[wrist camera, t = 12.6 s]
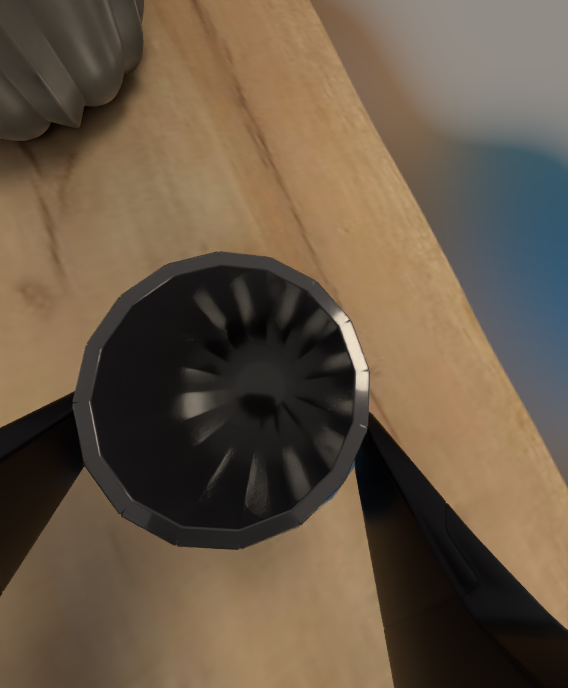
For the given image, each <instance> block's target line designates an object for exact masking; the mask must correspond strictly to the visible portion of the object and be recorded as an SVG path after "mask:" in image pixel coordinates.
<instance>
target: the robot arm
mask: <svg viewBox="0 0 568 688" xmlns="http://www.w3.org/2000/svg"><path fill="white" fill-rule="evenodd" d="M74 394H75V391H74V392H72V393H70V394H68V395H66V396H64V397H62V398H60V399H58V400H56V401H54V402H52V403H50V404H48V405H46V406H44V407H42V408H40V409H38V410H36V411H34V412H32V413H29V414H27V415H25V416H23V417H21V418H19V419H17V420H15V421H13V422H11V423H9V424H7V425H5V426H3V427H1V428H0V596H1V595H2V591H4V590H5V588H6V587H7V585H8V584H9V582H10V580H11V579H12V577H13V576H14V574H15V573H16V571H17V570H18V568H19V566H20V565H21V563H22V562H23V560H24V559H25V557H26V556H27V554H28V553H29V551H30V549H31V548H32V546H33V545H34V543H35V542H36V540H37V539H38V537H39V536H40V534H41V532H42V531H43V529H44V528H45V526H46V525H47V523H48V522H49V520H50V518H51V517H52V515H53V514H54V512H55V511H56V509H57V508H58V506H59V505H60V503H61V501H62V500H63V498H64V497H65V495H66V494H67V492H68V491H69V489H70V488H71V486H72V484H73V483H74V481H75V480H76V478H77V477H78V475H79V474H80V472H81V470H82V469H83V467H84V466H85V463H83V459H82V454H81V448H80V443H79V437H78V432H77V426H76V421H75V415H74V410H73V404H74V403H73V398H74ZM367 427H368V429H367V431H366V434H365V436H364V438H363V441H362V443H361V445H360V448H359V450H358V452H357V455H356V457H355V459H354V462H355V472H356V478H357V484H358V489H359V495H360V500H361V506H362V511H363V517H364V522H365V528H366V533H367V539H368V544H369V550H370V555H371V561H372V566H373V572H374V577H375V583H376V588H377V594H378V599H379V605H380V611H381V616H382V622H383V627H384V628H385V629H384V633H385V639H386V645H387V650H388V656H389V661H390V667H391V672H392V678H393V683H394V688H568V630H567V629H566V628H565V627H564V626H563V625H561V624H560V623H559V622H558V621H557V620H556V619H555V618H554V617H552V616H551V615H550V614H549V613H548V612H547V611H546V610H545V609H544V608H543V607H542V606H541V605H540V604H539V603H538V602H537V600H536V599H535V598H534V597H533V596H532V595H531V594H530V593H529V592H528V591H527V590H526V589H525V588H524V587H523V586H522V585H521V584H520V583H519V582H518V580H517V579H516V578H515V577H514V576H513V575H512V574H511V573H510V572H509V571H508V570H507V569H506V568H505V567H504V566H503V565H502V564H501V563H500V562H499V560H498V559H497V558H496V557H495V556H494V555H493V554H492V553H491V552H490V551H489V550H488V549H487V548H486V547H485V545H484V544H483V543H482V542H481V541H480V540H479V539H478V538H477V537H476V536H475V535H474V534H473V532H472V531H471V530H470V529H469V528H468V527H467V525H466V524H465V523H464V522H463V521H462V520H461V519H460V517H459V516H458V515H457V514H456V513H455V512H454V510H453V509H452V508H451V507H450V506H449V504H447V503H446V501H445V500H444V499H443V497H442V496H441V495H440V494H439V493H438V491H437V490H436V489H435V488H434V487H433V486H432V484H431V483H430V482H429V481H428V480H427V478H426V477H425V476H424V475H423V474H422V472H421V471H420V470H419V469H418V468H417V467H416V465H415V464H414V463H413V462H412V461H411V459H410V458H409V457H408V456H407V455H406V453H405V452H404V451H403V450H402V449H401V447H400V446H399V445H398V444H397V443H396V442H395V440H394V439H393V438H392V437H391V436H390V434H389V433H388V432H387V431H386V430H385V428H384V427H383V426H382V425H381V424H380V423H379V421H378V420H377V419H376V418H375V417H374V415H373V414H372V413H370V412H369V416H368V426H367Z"/></svg>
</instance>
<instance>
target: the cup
mask: <svg viewBox="0 0 568 688" xmlns="http://www.w3.org/2000/svg"><path fill="white" fill-rule="evenodd" d="M87 344H88V345H86V347H85V351H84V355H83V360H82V364H81V368H80V372H79V377H78V381H77V385H76V390H75V394H74V398H73V403H74V404H73V410H74V415H75V421H76V426H77V432H78V437H79V443H80V448H81V454H82V459H83V463H85V467H86V469H87V470H88V471H89V473H90V474H91V476H92V477H93V479H94V480H95V481H96V483H97V484H98V486H99V487H100V488H101V490H102V491H103V493H104V494H105V496H106V497H107V498H108V500H109V501H110V503H111V504H112V505H113V507H114V508H115V510H116V511H117V513H118V514H121V517H123V518H125V519H127V520H128V521H130V522H132V523H134V524H136V525H138V526H139V527H141V528H143V529H145V530H147V531H148V532H150V533H152V534H154V535H156V536H158V537H159V538H161V539H163V540H165V541H167V542H168V543H170V544H172V545H174V546H175V545H177V546H178V547H195V548H213V549H232V550H239V549H240V548H241V549H244V548H246V547H249V546H252V545H254V544H257V543H259V542H262V541H264V540H267V539H269V538H272V537H274V536H277V535H280V534H282V533H285V532H287V531H290V530H292V529H295V528H297V527H299V525H302V524H303V523H304V522H305V521H306V520H307V519H308V518H309V517H310V516H311V515H312V514H313V513H314V512H315V511H316V510H317V509H318V508H319V507H320V506H321V505H322V504H323V503H324V502H325V501H326V500H327V499H328V498H329V497H330V496H331V495H332V494H333V493H334V492H335V491H336V490H337V489H338V488H339V487H340V486H341V485H342V484H343V483H344V481H345V480H346V478H347V476H348V473H349V471H350V469H351V466H352V464H353V462H354V459H355V457H356V455H357V452H358V450H359V448H360V445H361V443H362V441H363V438H364V436H365V434H366V431H367V429H368V427H367V426H368V416H369V374H370V372H369V371H368V370H369V367H368V365H367V362H366V359H365V356H364V354H363V351H362V348H361V346H360V343H359V340H358V337H357V335H356V332H355V329H354V326H353V324H352V321H350V318H349V317H348V316H347V315H346V314H345V312H344V311H343V310H342V309H341V308H340V307H339V306H338V305H337V303H336V302H335V301H334V300H333V299H332V298H331V297H330V295H329V294H328V293H327V292H326V291H325V290H324V289H323V288H322V286H321V285H320V284H319V283H318V282H316V281H315V280H314V279H312V278H310V277H308V276H306V275H304V274H302V273H300V272H299V271H297V270H295V269H293V268H291V267H289V266H287V265H285V264H283V263H281V262H279V261H277V260H275V259H273V258H270V257H265V256H256V255H247V254H239V253H230V252H221V251H220V252H214V253H209V254H205V255H201V256H197V257H193V258H189V259H185V260H181V261H177V262H173V263H169V264H167V265H164V266H163V267H161V268H160V269H159V270H157V271H156V272H154V273H153V274H151V275H150V276H148V277H147V278H145V279H144V280H142V281H141V282H139V283H138V284H137V285H135V286H134V287H132V288H131V289H129V290H128V291H126V292H125V293H123V294H122V295H121V297H119V298H118V299H117V301H116V302H115V303H114V305H113V306H112V308H111V309H110V311H109V312H108V313H107V315H106V316H105V318H104V319H103V321H102V322H101V323H100V325H99V326H98V328H97V329H96V331H95V332H94V333H93V335H92V336H91V338H90V339H89V341H88V342H87Z"/></svg>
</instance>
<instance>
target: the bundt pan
mask: <svg viewBox="0 0 568 688" xmlns="http://www.w3.org/2000/svg"><path fill="white" fill-rule="evenodd" d="M143 9H144V0H0V138H1V139H6V140H13V141H26V140H30V139H34V138H37V137H38V136H40V135H42V134H43V133H44V132H45V131H46V130H47V129H48V127H49V126H50V123H51V122H54V123H58V124H62V125H66V126H69V127H73V128H79V127H80V124H81V119H82V115H83V110H84V106H101V105H104V104H106V103H108V102H110V101H111V100H112V99H113V98H114V97H115V96H116V95H117V93H118V92H119V90H120V87H121V85H122V81H123V76H124V74H127V73H130V72H131V71H133V70H134V69H135V68H136V67H137V66H138V64H139V62H140V60H141V57H142V52H143V33H142V27H141V23H142V19H143Z"/></svg>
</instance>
